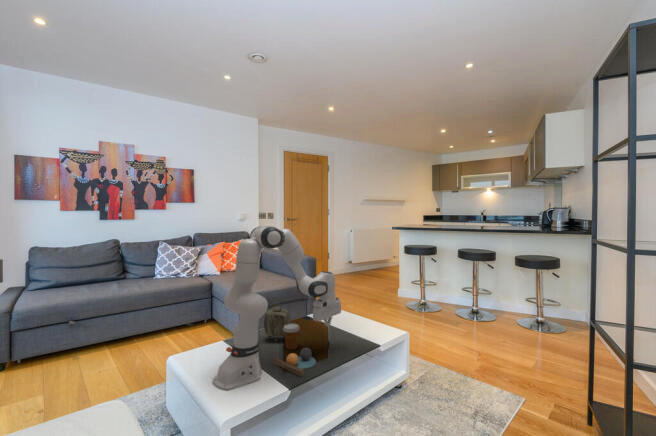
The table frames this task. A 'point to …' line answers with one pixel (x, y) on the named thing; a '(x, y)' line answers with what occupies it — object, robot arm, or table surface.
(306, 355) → the dark gray ball
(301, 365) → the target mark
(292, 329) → the disposable coffee cup
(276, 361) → the stopper wall
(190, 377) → the table surface
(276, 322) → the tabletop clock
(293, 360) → the orange ball
